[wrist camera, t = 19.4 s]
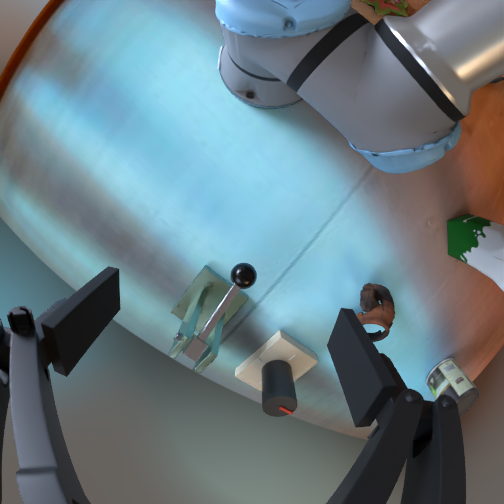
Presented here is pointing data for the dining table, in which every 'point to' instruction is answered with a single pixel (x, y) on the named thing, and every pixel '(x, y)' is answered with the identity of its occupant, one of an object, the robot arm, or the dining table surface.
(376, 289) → the broken clay pot
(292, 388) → the tap knob
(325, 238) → the dining table surface
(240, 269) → the tap lever
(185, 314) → the grey metal lever stand
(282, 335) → the panel
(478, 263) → the milk carton
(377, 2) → the lily flower
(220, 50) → the robot arm
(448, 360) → the coffee can
